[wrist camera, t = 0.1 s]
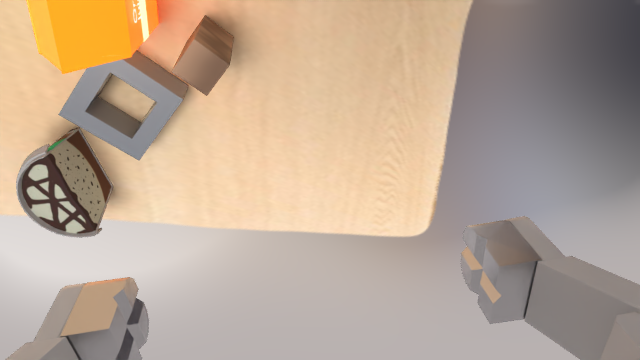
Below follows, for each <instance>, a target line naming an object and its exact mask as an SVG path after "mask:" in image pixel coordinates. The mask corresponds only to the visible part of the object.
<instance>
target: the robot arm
mask: <svg viewBox="0 0 640 360" xmlns="http://www.w3.org/2000/svg"><path fill="white" fill-rule="evenodd" d="M463 240H464V242H465V243H466V245H467V247H466V248H465V250H464V251H463V252H462V253H461V268H462V274H463V277H464V279H465V282H466V284H467V286H468V287H469V289H470V290H471V291H473V292H475V293H477V294H478V295H479V296H478V305H479V306H480V308H481V310H482V311H483V313H484V315H485V316H486V318H487V320H488V321H489V323H490V324H493V323H500V322H507V321H514V320H522V319H525V322H527V323H528V324H530V325H531V326H533V327H534V328H536V329H537V330H538V331H540V332H541V333H543V334H544V335H546V336H547V337H549V338H550V339H552V340H553V341H554V342H556V343H557V344H559V345H560V346H562V347H563V348H564V349H566V350H567V351H569V352H570V353H572V354H573V355H575V356H576V357H577V358H579V359H580V360H640V285H639V284H637V283H634V282H632V281H630V280H627V279H624V278H622V277H620V276H618V275H615V274H613V273H611V272H608V271H606V270H604V269H601V268H599V267H596V266H594V265H592V264H589V263H587V262H585V261H582V260H580V259H577V258H575V257H573V256H569V257H565V256H564V255H563V254H562V253H561V252H560V251H559V249H558V248H557V247H556V246H555V245H554V244H553V243H552V242H551V241H550V240H549V239H548V238H547V237H546V236H545V234H543V232H542V231H541V230H540V229H539V228H538V227H537V226H536V225H535V224H534V223H533V222H532V221H531V220H530V219H529V218H528V217H525V216H523V217H517V218H511V219H506V220H504V221H496V222H490V223H483V224H477V225H471V226H466V228H465V230H464V234H463ZM137 292H138V287H137V285H136V283H135V281H134V279H133V278H130V277H127V278H120V279H112V280H104V281H97V282H89V283H84V284H76V285H69V286H65V287H64V288H62V289H61V290H60V291H59V293H58V295H57V297H56V299H55V301H54V303H53V305H52V306H51V308H50V310H49V312H48V314H47V316H46V318H45V320H44V322H43V324H42V326H41V328H40V329H39V331H38V334H37V335H36V337H35V339H34V341H33V342H29V343H25V344H24V345H23V346H22V347H20V348H19V349H18V350H17V351H15V352H14V353H13V354H12V355H10V356H9V357H8V358H7V359H5V360H142V357H141V355H140V352H139V349H140V348H141V347H142V346H143V345H144V344H145V343H146V340H147V336H148V329H149V327H148V326H149V319H148V313H147V310H146V307H145V304H144V302H142V301H140V300H139V299H137V298H136V296H137Z"/></svg>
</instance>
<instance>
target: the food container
mask: <svg viewBox="0 0 640 360" xmlns="http://www.w3.org/2000/svg"><path fill="white" fill-rule="evenodd" d="M48 147H49V144H48V145H45V146H43V147H40V148H39V149H37V150H35V151H34V152H32V153H31V154H30V155H29V156H28V157H27V158H26V160H25V161H24V162H23V164H22V166H21V169H20V171H19V174H18V177H17V181H16V189H17V196H18V200H19V202H20V205H21V206H22V208H23V210H24V211H25V212H26V214H27V215H28V216H29V217H30V218H31V219H32V220H33V221H35V222H36V223H37V224H39V225H40V226H41V227H43V228H45V229H47V230H49V231H51V232H54V233H56V234H60V235H63V236H68V237H79V238H82V237H91V236H95V235H96V234H98V233H99V232H100V231H101V230H102V228H99V225H100V223H101V220H102V217H103V214H104V211H105V209H106V206H107V203H108V200H109V198H110V195H111V192H112V189H113V185H112V183H111V181H110V180H109V178H108V176H107V175H106V173H105V171H104V169H103V168H102V166H101V164H100V162H99V161H98V159H97V157H96V156H95V154H94V152H93V150H92V149H91V147H90V145H89V143H88V142H87V140H86V138H85V137H84V135H83V133H82V131H81V130H80V128H76V129H73V130H71V131H69V132H68V133H67V134H66V135H64V136H63V137H62V138H61V139H59V140H58V141H57V142H55V143H54V144H53V145H52V146H50V147H49V148H48ZM98 228H99V229H98Z"/></svg>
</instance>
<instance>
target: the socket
mask: <svg viewBox="0 0 640 360" xmlns="http://www.w3.org/2000/svg"><path fill="white" fill-rule="evenodd" d="M112 74H113V75H115V76H116V77H118V78H120V79H121V80H123V81H124V82H126V83H127V84H129V85H131V86H132V87H134V88H135V89H137V90H138V91H140V92H141V93H143V94H145V95H146V96H148V97H149V98H151V99H152V100H154V101H156V102H155V103H154V104H153V106H152V107H151V109H150V110H149V112H148V113H147V114H146V116H145V117H144V119H143V120H142V122H139V121H137V120H136V119H134V118H132V117H131V116H129V115H127V114H126V113H124V112H123V111H121V110H119V109H118V108H116V107H114V106H113V105H111V104H109V103H108V102H106V101H104V100H103V99H101V98H100V97H98V95H99V94H100V92H101V91H102V89H103V88H104V86H105V85H106V83H107V81H108V80H109V78H110V77H111V75H112ZM187 88H188V85H187V84H185V83H184V82H182V81H181V80H179V79H178V78H176V77H175V76H173V75H172V74H170V73H169V72H167V71H166V70H165V69H163V68H162V67H160V66H159V65H157V64H156V63H154V62H153V61H151V60H150V59H148V58H147V57H145V56H144V55H142V54H141V53H139V52H138V51H137V50H136V51H135V52H134V53H133V54H132V57H130V58H125V59H121V60H117V61H113V62H109V63H105V64H101V65H97V66H93V67H89V68H87V69H86V71H85V72H84V74H83V75H82V77H81V79H80V80H79V82H78V84H77V85H76V87H75V88H74V90H73V92H72V93H71V95H70V97H69V98H68V100H67V101H66V103H65V105H64V106H63V108H62V110H61V111H60V113H59V114H58V115H60V116H62V117H63V118H65V119H67V120H69V121H70V122H72V123H74V124H76V125H77V126H79V127H81V128H83V129H84V130H86V131H88V132H90V133H91V134H93V135H95V136H97V137H99V138H100V139H102V140H104V141H106V142H107V143H109V144H111V145H113V146H114V147H116V148H118V149H120V150H121V151H123V152H125V153H127V154H128V155H130V156H132V157H134V158H135V159H137V160H140V159H141V157H142V156H143V155H144V153H145V152H146V150H147V149H148V148H149V146H150V145H151V143H152V142H153V141H154V139H155V138H156V137H157V135H158V134H159V132H160V131H161V130H162V128H163V127H164V125H165V124H166V123H167V121H168V120H169V119H170V117H171V116H172V114H173V113H174V112H175V110H176V109H177V107H178V106H179V105H180V103H181V102H182V101H183V99H184V96H185V93H186V91H187Z"/></svg>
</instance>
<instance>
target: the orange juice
mask: <svg viewBox="0 0 640 360" xmlns="http://www.w3.org/2000/svg"><path fill="white" fill-rule="evenodd" d="M26 1H27V5H28V9H29V13H30V18H31V22H32V26H33V30H34V35H35V39H36V43H37V47H38V52H39V54H42V55H43V56H44V57H45V58H46V59H48V60H49V61H50V62H51V63H52V64H54V65H55V66H56V67H57V68H58V69H59V70H61V71H62V74H65V73H69V72H73V71H77V70H81V69H85V68H89V67H93V66H97V65H101V64H105V63H109V62H113V61H117V60H121V59H125V58H130V57H132V54H133V53H134V52H135V51H136V50H137V49H138V48H139V46H140V45H141V44H142V43H143V42H145V40H146V39H147V38H148V37H149V35H150V34H151V33H152V31H153V30H154V29H155V28H156V27H157V26H158V24H159V22H158V11H157V1H156V0H26Z"/></svg>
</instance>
